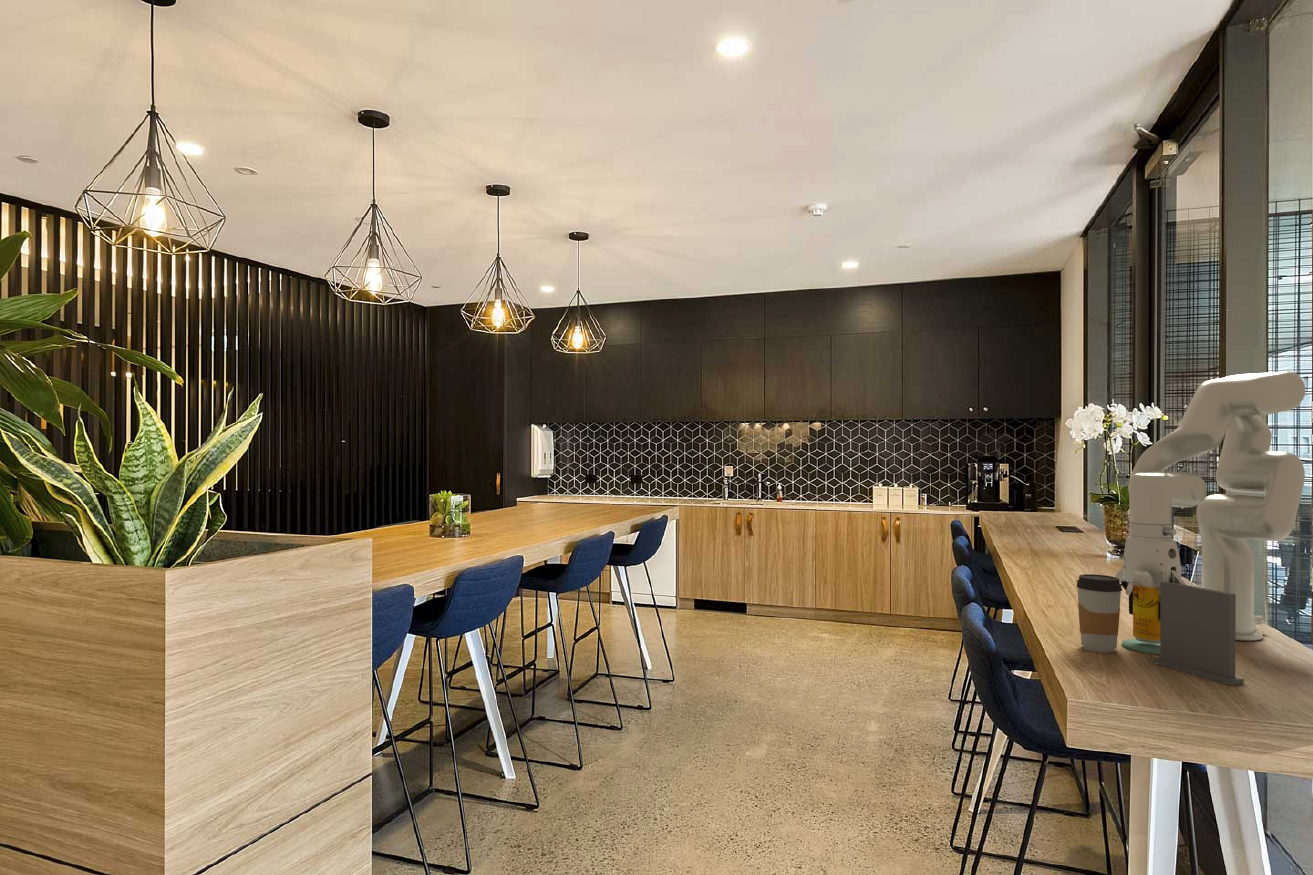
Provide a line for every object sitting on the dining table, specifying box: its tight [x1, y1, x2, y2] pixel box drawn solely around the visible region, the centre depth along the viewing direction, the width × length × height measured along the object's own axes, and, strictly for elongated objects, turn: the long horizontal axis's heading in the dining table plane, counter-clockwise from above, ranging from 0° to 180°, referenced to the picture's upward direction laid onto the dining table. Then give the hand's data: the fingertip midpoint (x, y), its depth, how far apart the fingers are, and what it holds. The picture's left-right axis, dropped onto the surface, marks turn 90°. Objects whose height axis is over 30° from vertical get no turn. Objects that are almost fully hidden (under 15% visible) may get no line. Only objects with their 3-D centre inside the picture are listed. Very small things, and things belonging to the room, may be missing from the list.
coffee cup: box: [1076, 573, 1123, 654], centre depth 161 cm, size 8×8×15 cm
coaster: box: [1121, 638, 1160, 656], centre depth 161 cm, size 10×10×1 cm
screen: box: [1152, 582, 1245, 687], centre depth 144 cm, size 3×15×16 cm, turn 19°
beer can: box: [1132, 569, 1160, 644], centre depth 161 cm, size 6×6×15 cm
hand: (1150, 616), depth 161 cm, fingers closed on beer can, 6 cm apart
